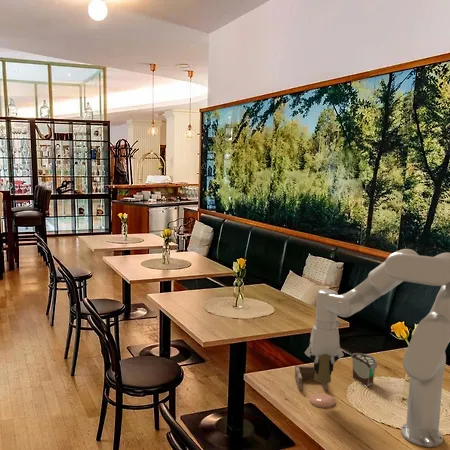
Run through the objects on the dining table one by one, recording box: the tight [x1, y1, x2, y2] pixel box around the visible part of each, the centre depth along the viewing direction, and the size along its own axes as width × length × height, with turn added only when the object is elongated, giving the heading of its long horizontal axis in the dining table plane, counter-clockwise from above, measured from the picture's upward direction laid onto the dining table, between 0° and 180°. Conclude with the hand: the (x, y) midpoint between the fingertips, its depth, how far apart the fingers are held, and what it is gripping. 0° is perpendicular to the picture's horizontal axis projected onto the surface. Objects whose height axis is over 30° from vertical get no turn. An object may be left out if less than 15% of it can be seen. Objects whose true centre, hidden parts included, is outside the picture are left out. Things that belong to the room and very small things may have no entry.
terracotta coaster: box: [309, 392, 336, 409], centre depth 174 cm, size 9×9×1 cm
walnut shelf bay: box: [294, 365, 329, 392], centre depth 188 cm, size 11×11×5 cm
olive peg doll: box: [313, 354, 332, 384], centre depth 173 cm, size 6×6×11 cm
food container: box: [351, 352, 378, 388], centre depth 191 cm, size 12×6×10 cm, turn 22°
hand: (323, 372), depth 173 cm, fingers closed on olive peg doll, 4 cm apart
